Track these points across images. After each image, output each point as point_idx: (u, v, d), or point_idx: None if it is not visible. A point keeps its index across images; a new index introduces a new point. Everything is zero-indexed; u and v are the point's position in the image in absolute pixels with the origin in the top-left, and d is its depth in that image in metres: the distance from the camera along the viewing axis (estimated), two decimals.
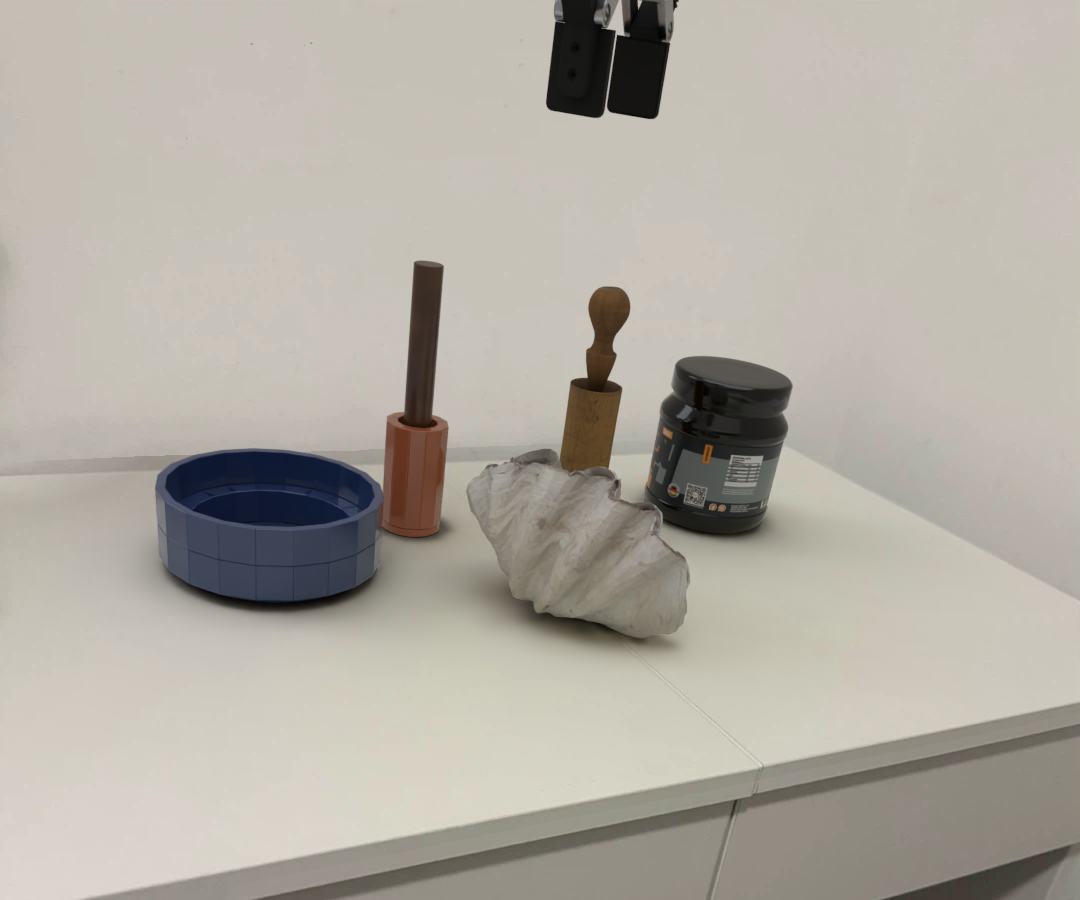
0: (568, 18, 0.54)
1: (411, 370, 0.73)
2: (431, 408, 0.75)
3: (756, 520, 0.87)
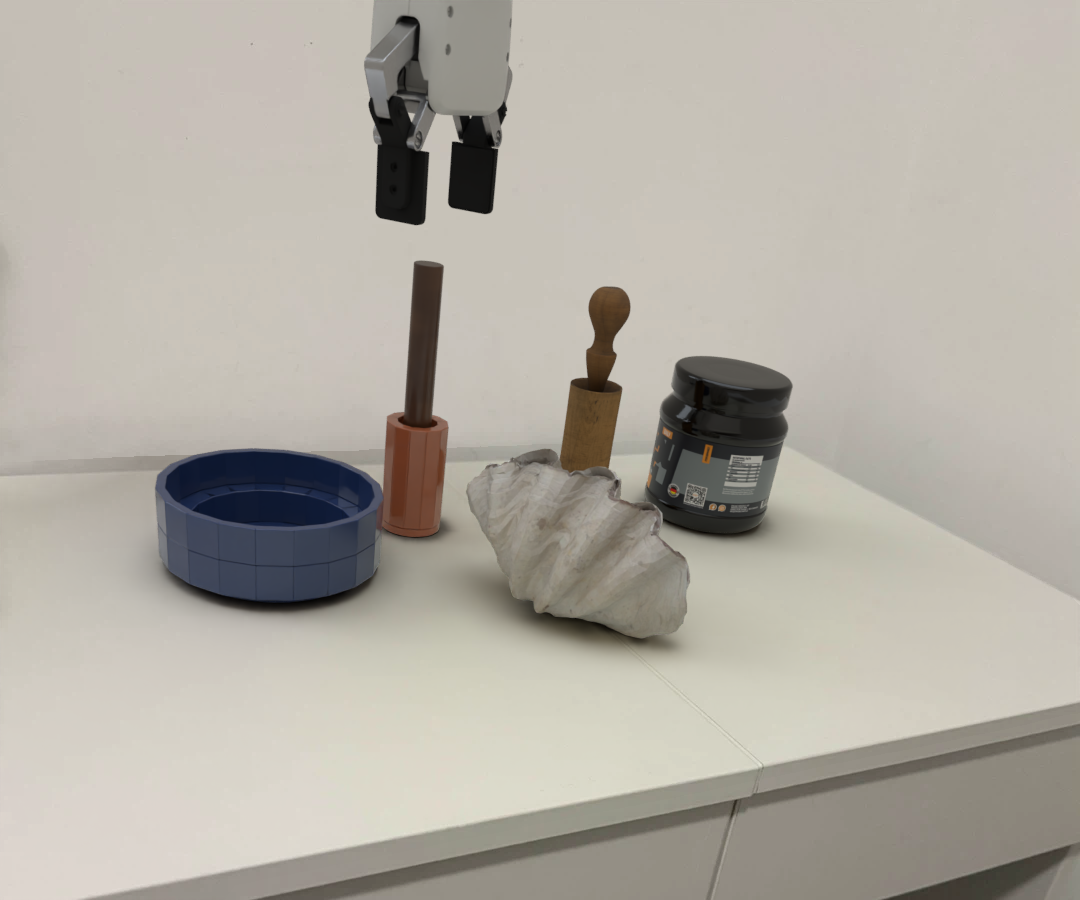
0: (386, 143, 0.62)
1: (411, 370, 0.73)
2: (431, 408, 0.75)
3: (756, 520, 0.87)
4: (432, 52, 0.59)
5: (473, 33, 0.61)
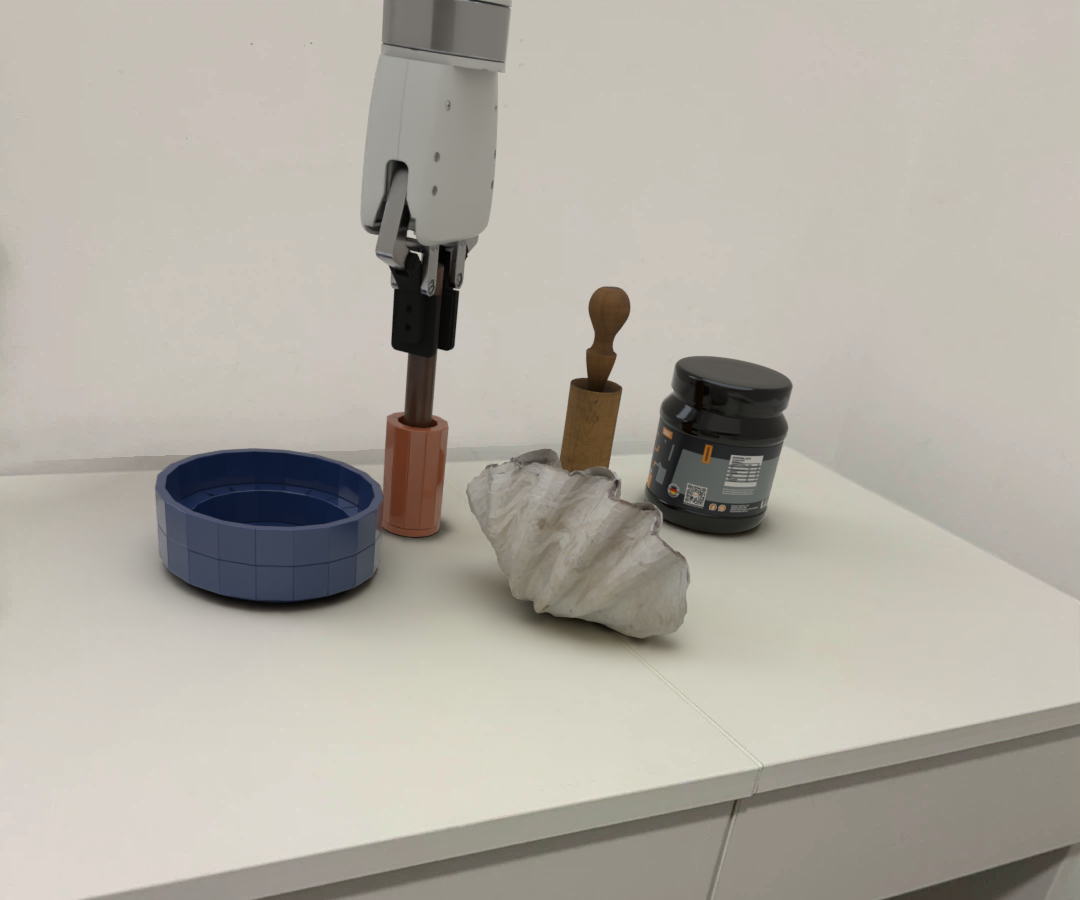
0: (402, 288, 0.69)
1: (411, 370, 0.73)
2: (431, 408, 0.75)
3: (756, 520, 0.87)
4: (419, 193, 0.63)
5: (459, 172, 0.65)
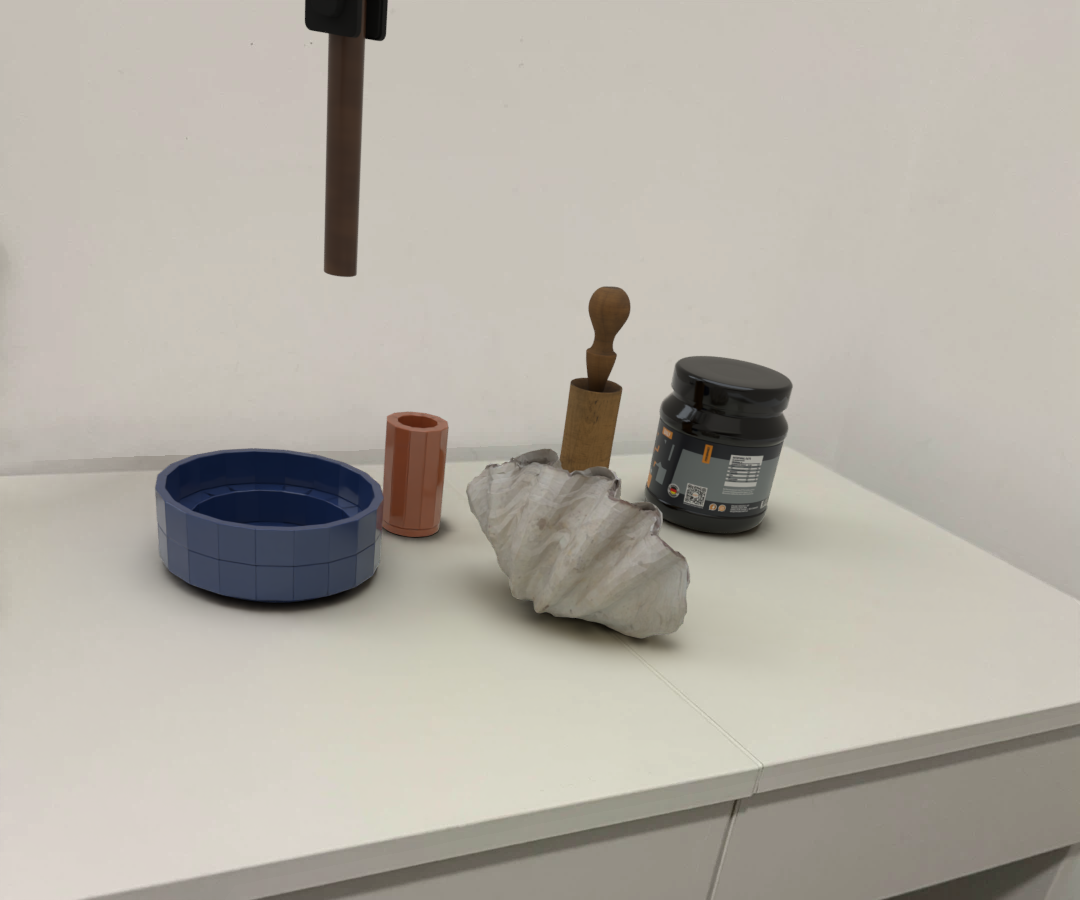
0: None
1: (333, 61, 0.59)
2: (360, 118, 0.60)
3: (756, 520, 0.87)
4: None
5: None
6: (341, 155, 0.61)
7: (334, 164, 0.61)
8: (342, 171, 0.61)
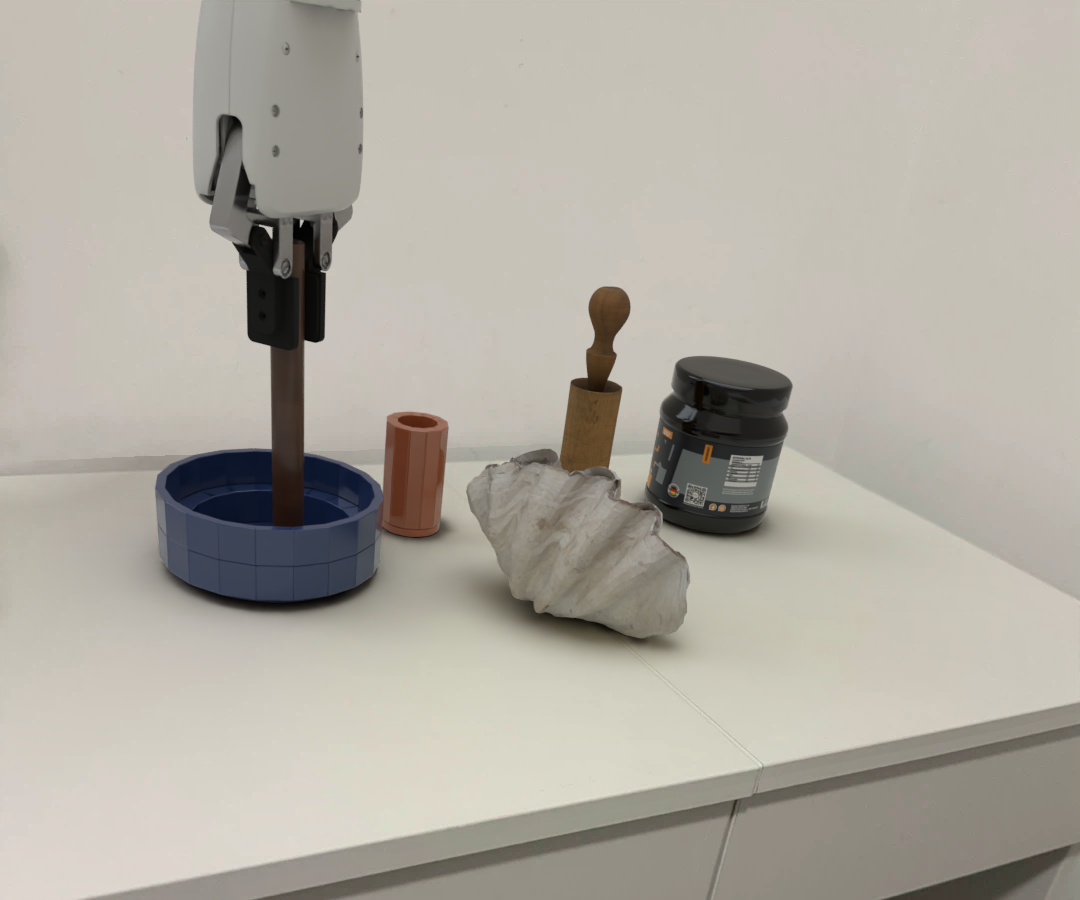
0: (252, 269, 0.59)
1: (274, 365, 0.63)
2: (301, 409, 0.65)
3: (756, 520, 0.87)
4: (257, 155, 0.53)
5: (308, 130, 0.55)
6: (285, 442, 0.66)
7: (278, 449, 0.66)
8: (286, 455, 0.66)
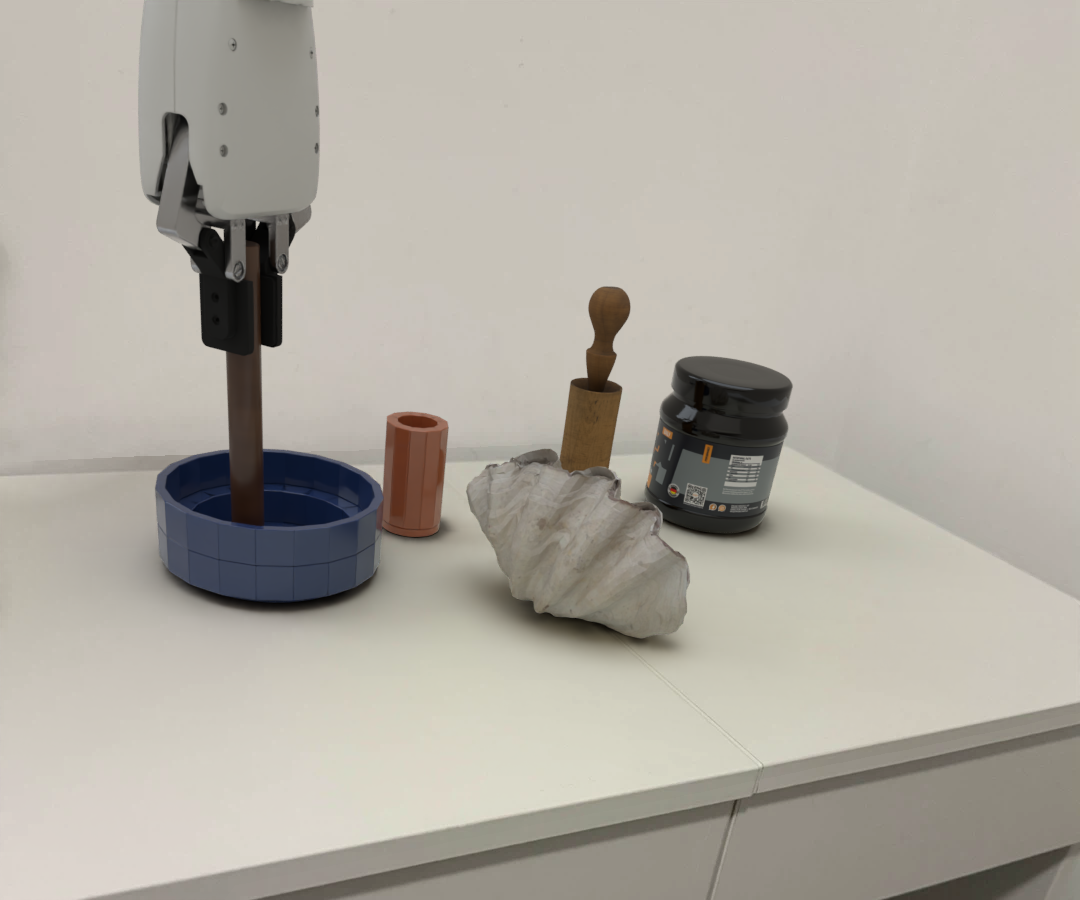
0: (204, 272, 0.57)
1: (230, 371, 0.62)
2: (259, 415, 0.63)
3: (756, 520, 0.87)
4: (204, 154, 0.52)
5: (259, 129, 0.54)
6: (242, 449, 0.64)
7: (236, 457, 0.64)
8: (244, 462, 0.64)
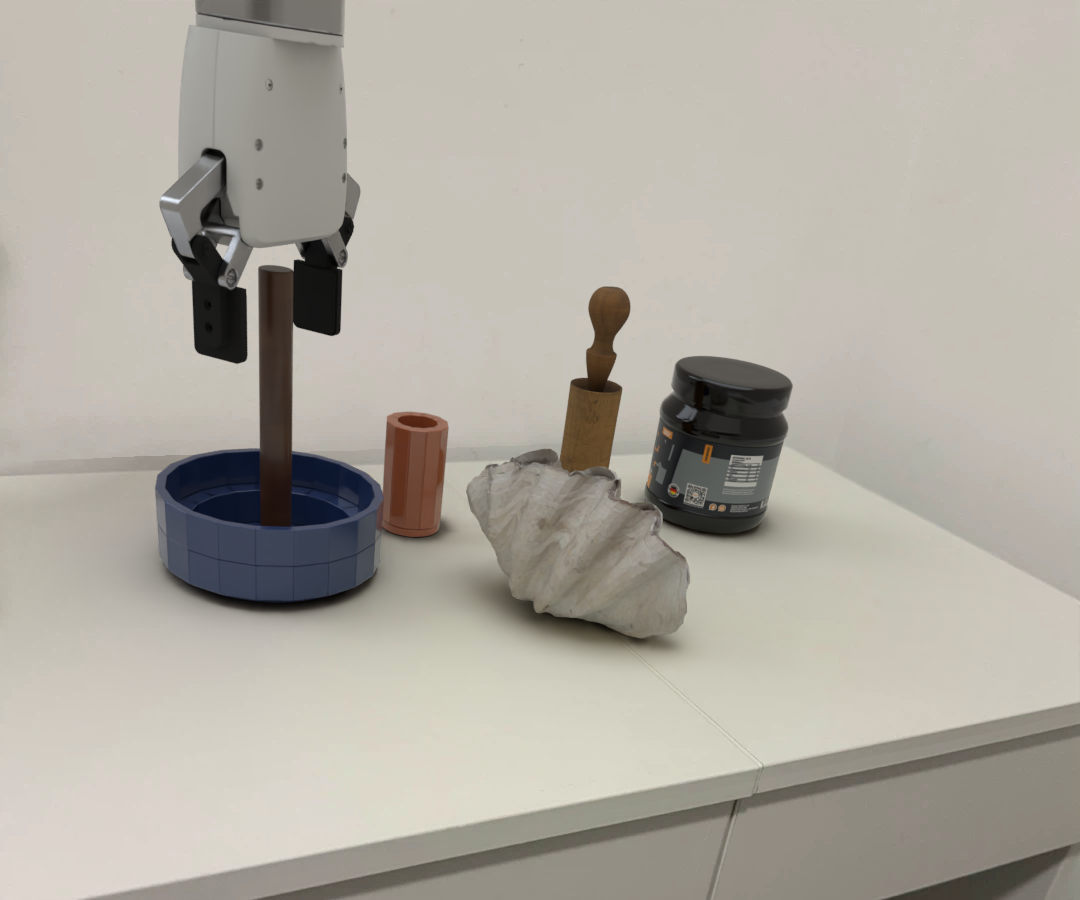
0: (197, 280, 0.57)
1: (263, 389, 0.64)
2: (289, 432, 0.66)
3: (756, 520, 0.87)
4: (241, 187, 0.55)
5: (292, 163, 0.56)
6: (272, 464, 0.67)
7: (266, 471, 0.67)
8: (274, 476, 0.67)
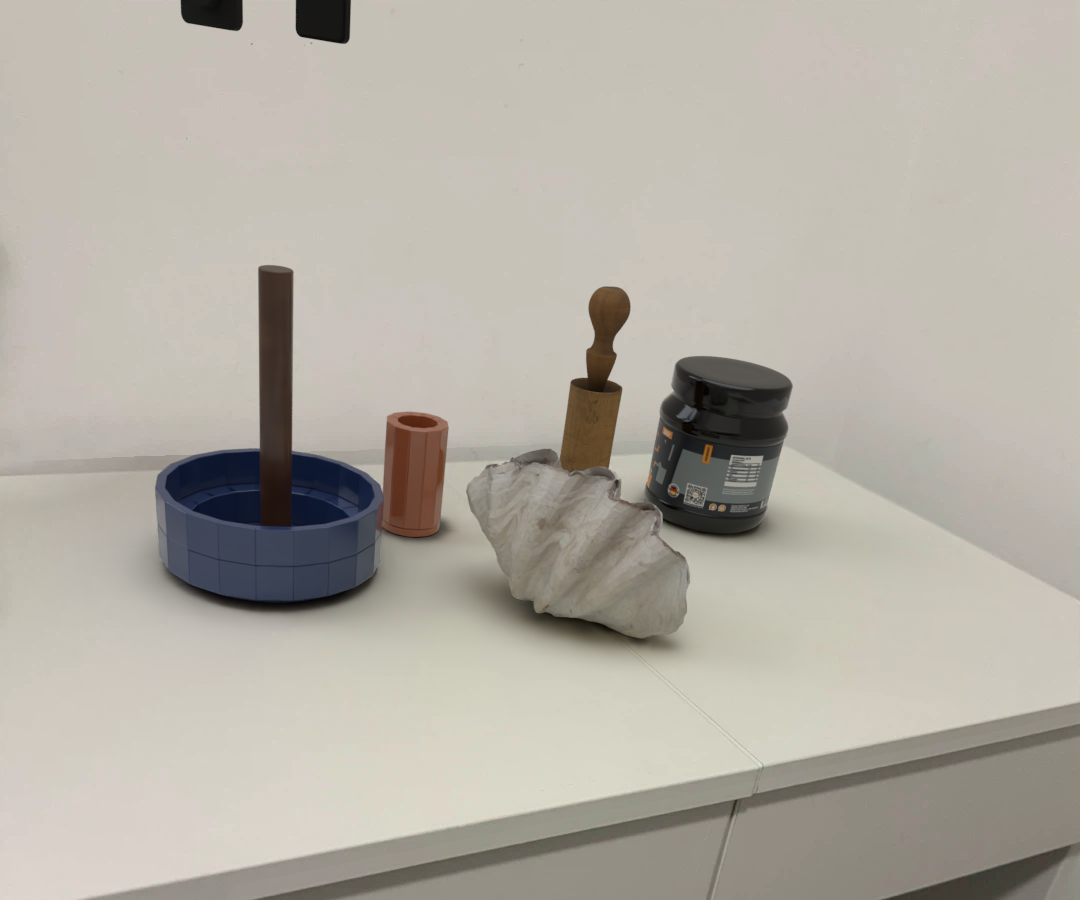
0: None
1: (263, 389, 0.64)
2: (289, 432, 0.66)
3: (756, 520, 0.87)
4: None
5: None
6: (272, 464, 0.67)
7: (266, 471, 0.67)
8: (274, 476, 0.67)
